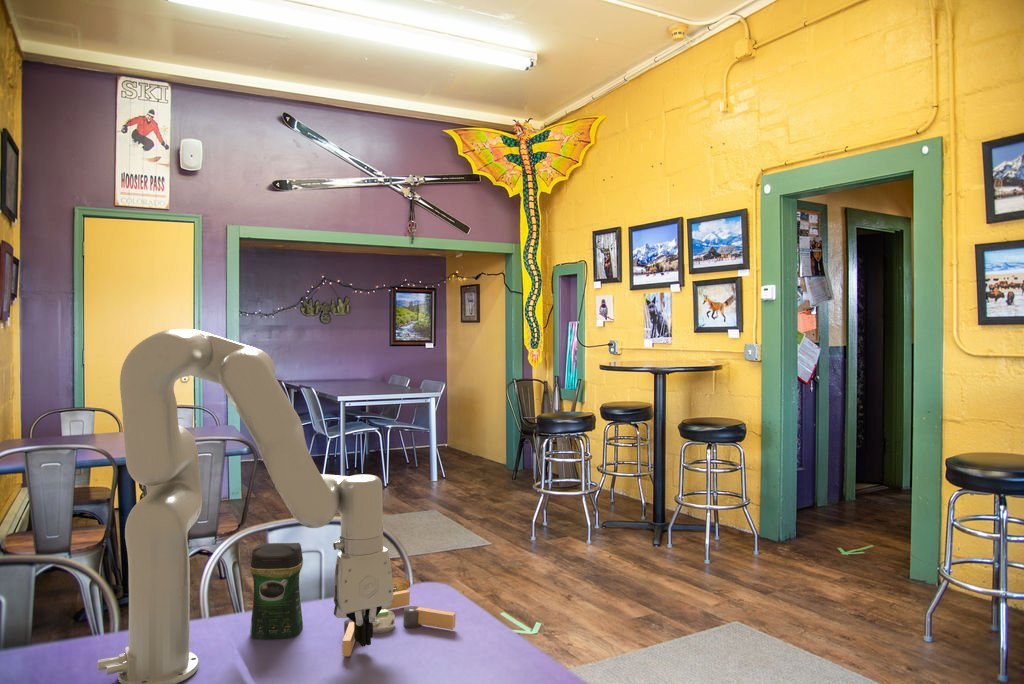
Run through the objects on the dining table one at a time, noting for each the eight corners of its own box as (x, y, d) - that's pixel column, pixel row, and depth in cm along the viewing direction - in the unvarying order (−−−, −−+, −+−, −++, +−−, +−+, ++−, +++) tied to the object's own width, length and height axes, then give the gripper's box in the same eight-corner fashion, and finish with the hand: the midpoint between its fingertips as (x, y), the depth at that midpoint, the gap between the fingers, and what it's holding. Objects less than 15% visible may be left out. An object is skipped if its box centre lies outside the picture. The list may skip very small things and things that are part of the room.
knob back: (362, 619, 146) (362, 603, 146) (356, 613, 149) (356, 597, 149) (411, 609, 151) (411, 593, 151) (404, 603, 154) (404, 588, 154)
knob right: (400, 626, 143) (400, 609, 143) (408, 619, 146) (408, 603, 146) (450, 635, 139) (450, 617, 139) (457, 627, 143) (457, 610, 143)
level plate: (350, 663, 130) (351, 638, 130) (320, 626, 146) (320, 604, 145) (440, 641, 140) (440, 618, 140) (403, 609, 155) (403, 588, 155)
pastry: (390, 584, 170) (391, 568, 170) (417, 588, 168) (417, 572, 168) (373, 599, 161) (373, 582, 161) (400, 603, 159) (401, 586, 159)
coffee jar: (306, 629, 144) (307, 537, 144) (297, 647, 136) (298, 550, 136) (256, 630, 144) (257, 537, 143) (244, 648, 136) (246, 550, 135)
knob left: (345, 633, 139) (345, 616, 139) (364, 633, 140) (364, 615, 139) (336, 659, 128) (336, 640, 128) (356, 659, 129) (356, 640, 129)
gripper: (328, 557, 124) (330, 662, 125) (408, 542, 132) (409, 640, 132) (315, 545, 130) (317, 645, 131) (392, 532, 138) (393, 626, 139)
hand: (363, 642), depth 132 cm, fingers closed
